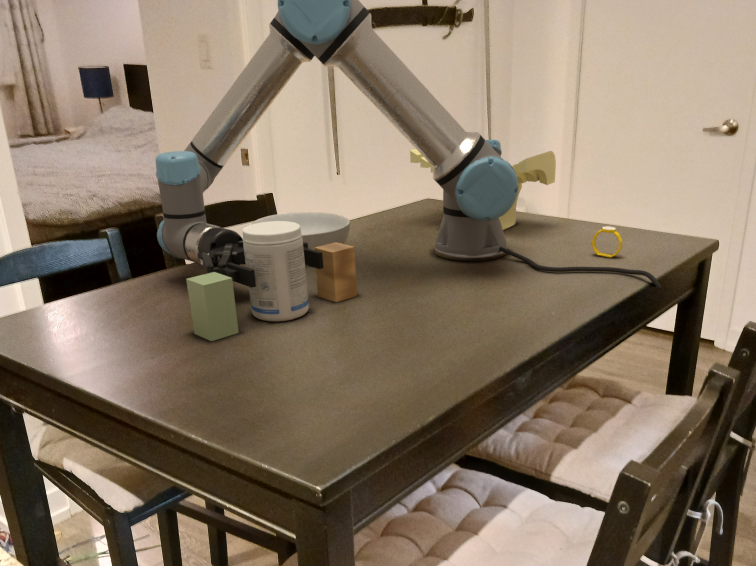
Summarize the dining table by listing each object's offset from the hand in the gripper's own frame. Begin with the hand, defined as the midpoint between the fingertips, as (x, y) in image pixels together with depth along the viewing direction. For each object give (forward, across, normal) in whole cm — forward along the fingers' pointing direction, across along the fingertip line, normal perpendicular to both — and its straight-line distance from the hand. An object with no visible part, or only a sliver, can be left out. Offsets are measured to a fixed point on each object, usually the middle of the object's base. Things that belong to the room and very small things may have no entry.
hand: (288, 269), depth 123 cm
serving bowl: (-31, -26, -8) cm, 42 cm away
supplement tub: (-3, 0, -8) cm, 9 cm away
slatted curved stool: (-19, -72, -8) cm, 75 cm away
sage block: (-3, +12, -8) cm, 15 cm away
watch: (+18, -67, -9) cm, 70 cm away
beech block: (-3, -12, -8) cm, 15 cm away
